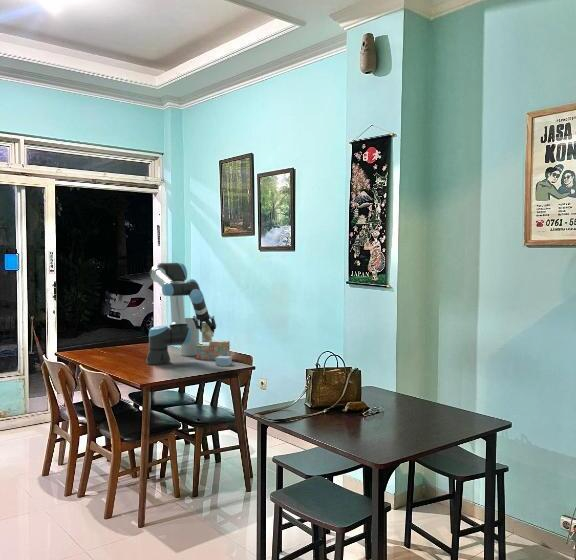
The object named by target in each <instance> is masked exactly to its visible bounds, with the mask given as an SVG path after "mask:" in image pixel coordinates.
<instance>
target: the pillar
mask: <svg viewBox="0 0 576 560" xmlns="http://www.w3.org/2000/svg"><path fill="white" fill-rule="evenodd" d="M210 322H211V321H210ZM211 323H212V322H211ZM212 340H213V337H212V334H211V331H210V327H209V326H208V324H207V323H206V322H202V332H201V343H209V342H212Z"/></svg>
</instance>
